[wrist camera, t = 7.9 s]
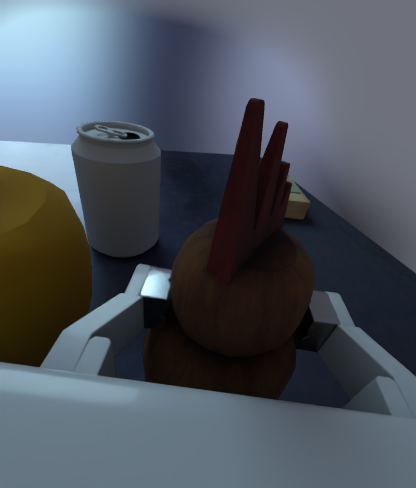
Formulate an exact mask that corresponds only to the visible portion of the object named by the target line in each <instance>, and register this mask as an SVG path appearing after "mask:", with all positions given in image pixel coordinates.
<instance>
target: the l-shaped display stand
mask: <svg viewBox="0 0 416 488" xmlns="http://www.w3.org/2000/svg"><path fill="white" fill-rule="evenodd" d="M237 142H238V140H237ZM236 146H237V144H236ZM235 150H236V148H235ZM234 154H235V153H234ZM287 181H288V182H291V183H292V187H291V192H290V196H289V201H288V205H287V209H286V213H285V218H292V219H302V220H303V219H304V217H305V214H306V212H307V210H308V207H309V205H310V201H309V200H308V199H307V198H306V196H305V195H304V194H303V193H302V192H301V190H300V189H299V188H298V187H297V185H296V184H295V183H294V182H293V180H292V179H291V178H290V177H289V175H288V176H287Z"/></svg>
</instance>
